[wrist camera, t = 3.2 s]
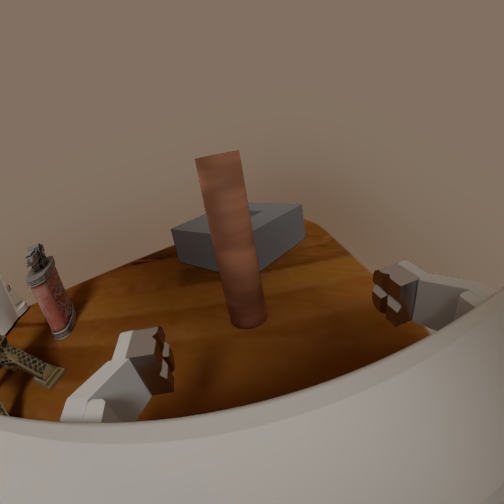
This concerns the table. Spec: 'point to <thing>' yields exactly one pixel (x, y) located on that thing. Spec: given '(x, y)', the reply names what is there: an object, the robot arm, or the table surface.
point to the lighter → (50, 292)
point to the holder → (264, 230)
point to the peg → (232, 237)
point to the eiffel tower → (28, 366)
